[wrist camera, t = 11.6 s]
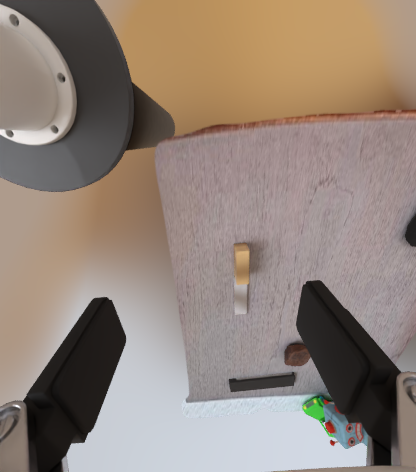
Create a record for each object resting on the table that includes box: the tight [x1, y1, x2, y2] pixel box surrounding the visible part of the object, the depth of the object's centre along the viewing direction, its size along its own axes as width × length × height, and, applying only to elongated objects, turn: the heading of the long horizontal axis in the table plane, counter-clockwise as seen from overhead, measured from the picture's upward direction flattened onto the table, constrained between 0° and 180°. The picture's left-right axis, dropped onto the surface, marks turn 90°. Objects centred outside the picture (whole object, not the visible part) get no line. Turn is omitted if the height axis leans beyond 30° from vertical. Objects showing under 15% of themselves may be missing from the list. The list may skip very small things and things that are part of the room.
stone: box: [284, 344, 311, 366], centre depth 47 cm, size 7×7×3 cm
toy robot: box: [323, 400, 368, 449], centre depth 52 cm, size 13×11×30 cm
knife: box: [234, 243, 249, 315], centre depth 37 cm, size 17×3×3 cm, turn 4°
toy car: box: [302, 396, 334, 437], centre depth 57 cm, size 11×7×7 cm, turn 59°
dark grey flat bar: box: [229, 372, 295, 392], centre depth 54 cm, size 18×1×5 cm
